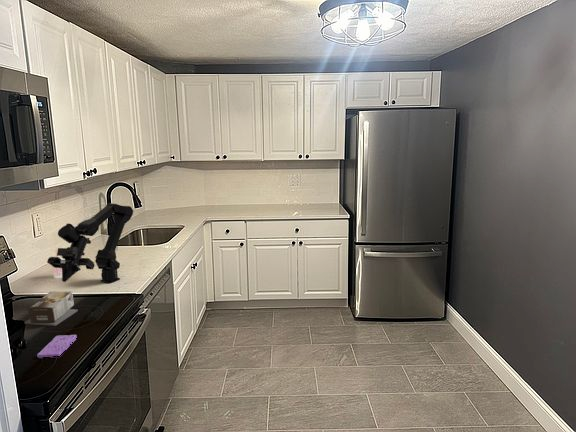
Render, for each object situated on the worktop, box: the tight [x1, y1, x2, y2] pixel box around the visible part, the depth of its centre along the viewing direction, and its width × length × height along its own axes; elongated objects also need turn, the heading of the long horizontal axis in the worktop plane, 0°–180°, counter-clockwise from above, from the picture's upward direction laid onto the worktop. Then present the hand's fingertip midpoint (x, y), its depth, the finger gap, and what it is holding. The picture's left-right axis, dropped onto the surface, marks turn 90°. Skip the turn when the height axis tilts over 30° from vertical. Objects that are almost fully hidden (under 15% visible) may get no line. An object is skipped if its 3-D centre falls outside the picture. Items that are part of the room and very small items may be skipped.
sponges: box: [36, 334, 78, 359], centre depth 140 cm, size 7×13×2 cm, turn 2°
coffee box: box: [28, 290, 75, 323], centre depth 164 cm, size 9×6×16 cm
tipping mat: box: [24, 308, 78, 327], centre depth 163 cm, size 13×13×1 cm
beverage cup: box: [51, 249, 65, 279], centre depth 207 cm, size 6×6×14 cm
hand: (63, 281), depth 173 cm, fingers closed
